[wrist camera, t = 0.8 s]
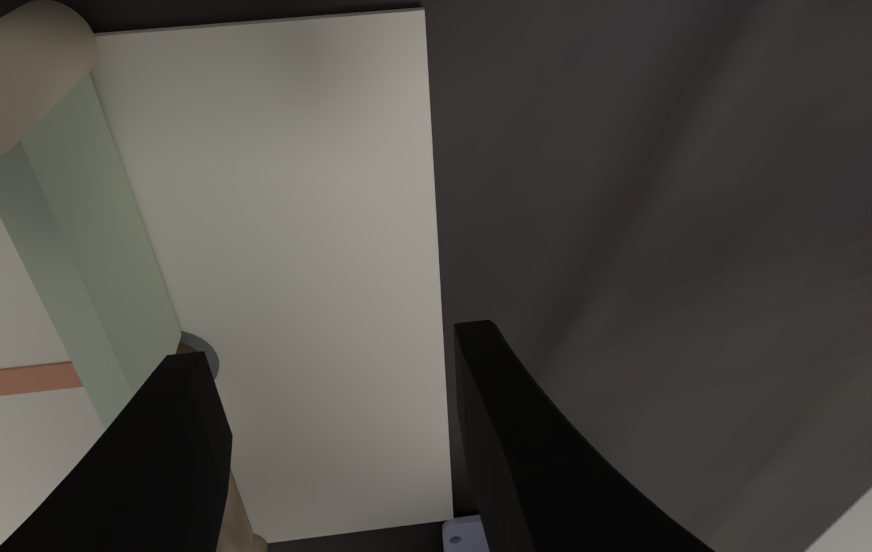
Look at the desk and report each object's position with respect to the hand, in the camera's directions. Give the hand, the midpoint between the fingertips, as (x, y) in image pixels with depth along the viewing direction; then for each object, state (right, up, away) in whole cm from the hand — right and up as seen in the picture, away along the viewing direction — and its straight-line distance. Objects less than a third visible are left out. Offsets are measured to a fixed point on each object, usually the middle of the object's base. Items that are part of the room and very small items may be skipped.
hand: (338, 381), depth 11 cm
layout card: (-7, -1, +10) cm, 12 cm away
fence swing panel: (-7, +4, +6) cm, 10 cm away
